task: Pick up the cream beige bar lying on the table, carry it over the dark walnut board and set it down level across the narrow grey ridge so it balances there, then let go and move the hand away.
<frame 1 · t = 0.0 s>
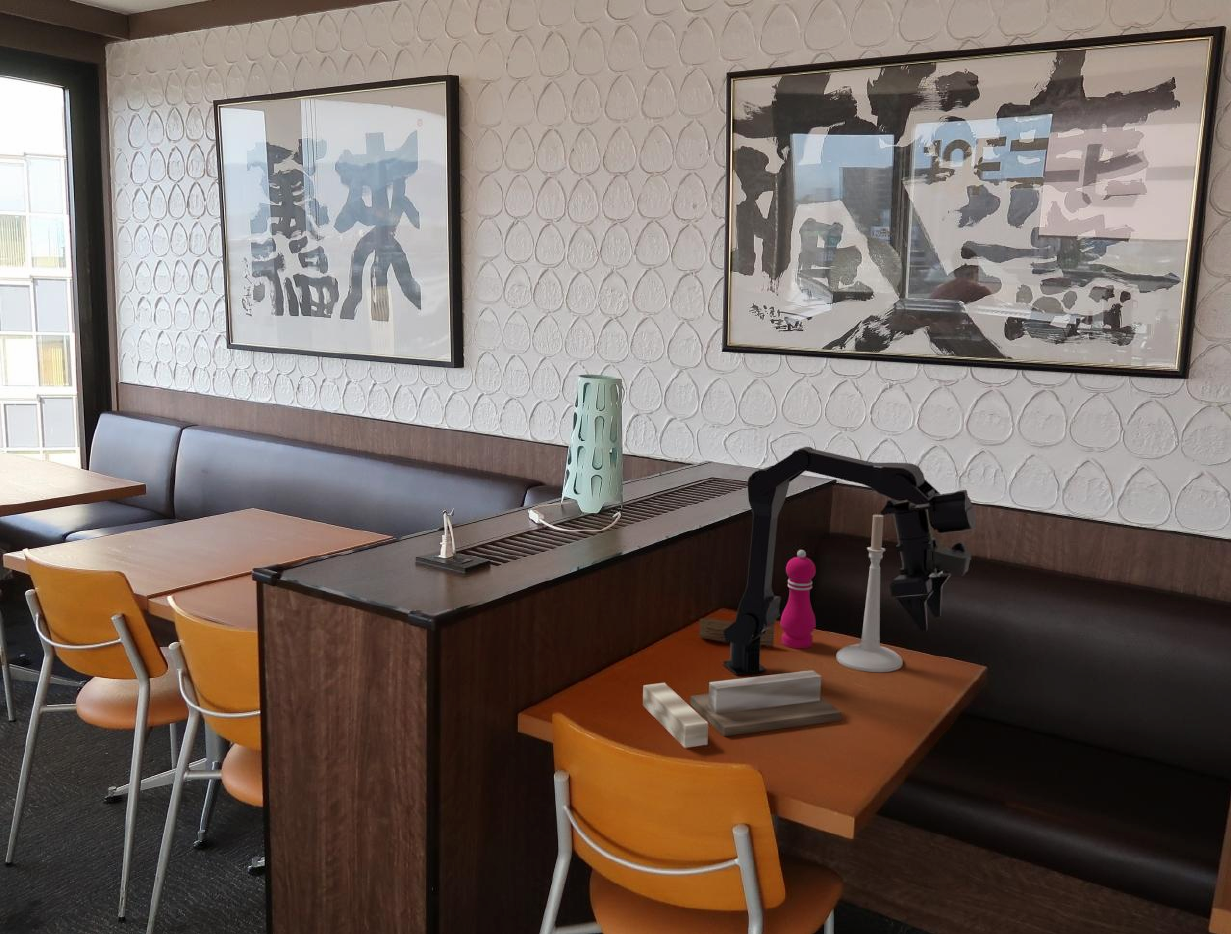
hand: (930, 623, 182), 15 cm above the table, tool pointing down, fingers open, 9 cm apart
pepper mill: (796, 644, 216), on the table
candlestick: (869, 661, 207), on the table
ridge stand: (764, 712, 181), on the table
wood plank: (736, 644, 216), on the table
cream beige bar: (673, 725, 175), on the table
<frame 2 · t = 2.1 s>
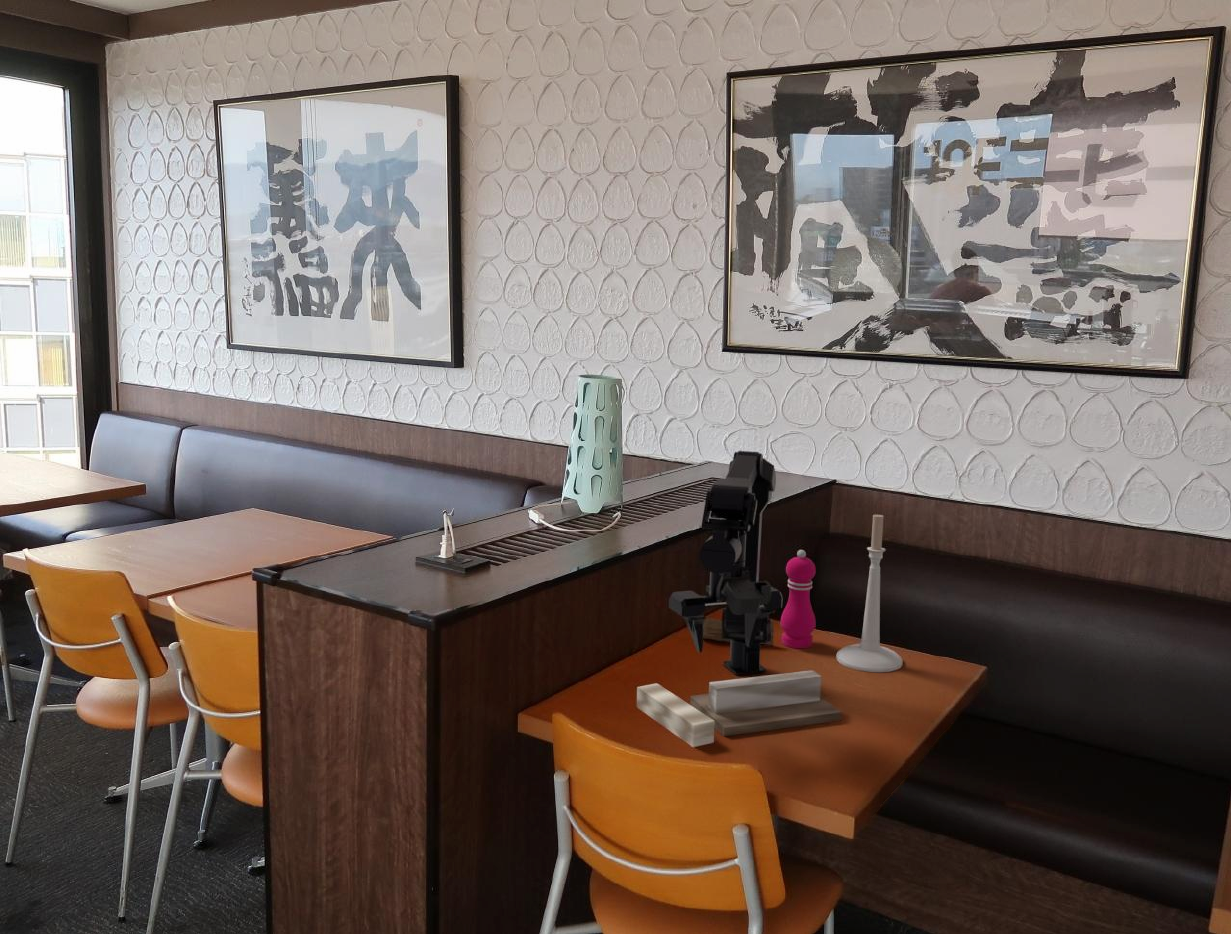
hand: (724, 649, 176), 12 cm above the table, tool pointing down, fingers open, 9 cm apart
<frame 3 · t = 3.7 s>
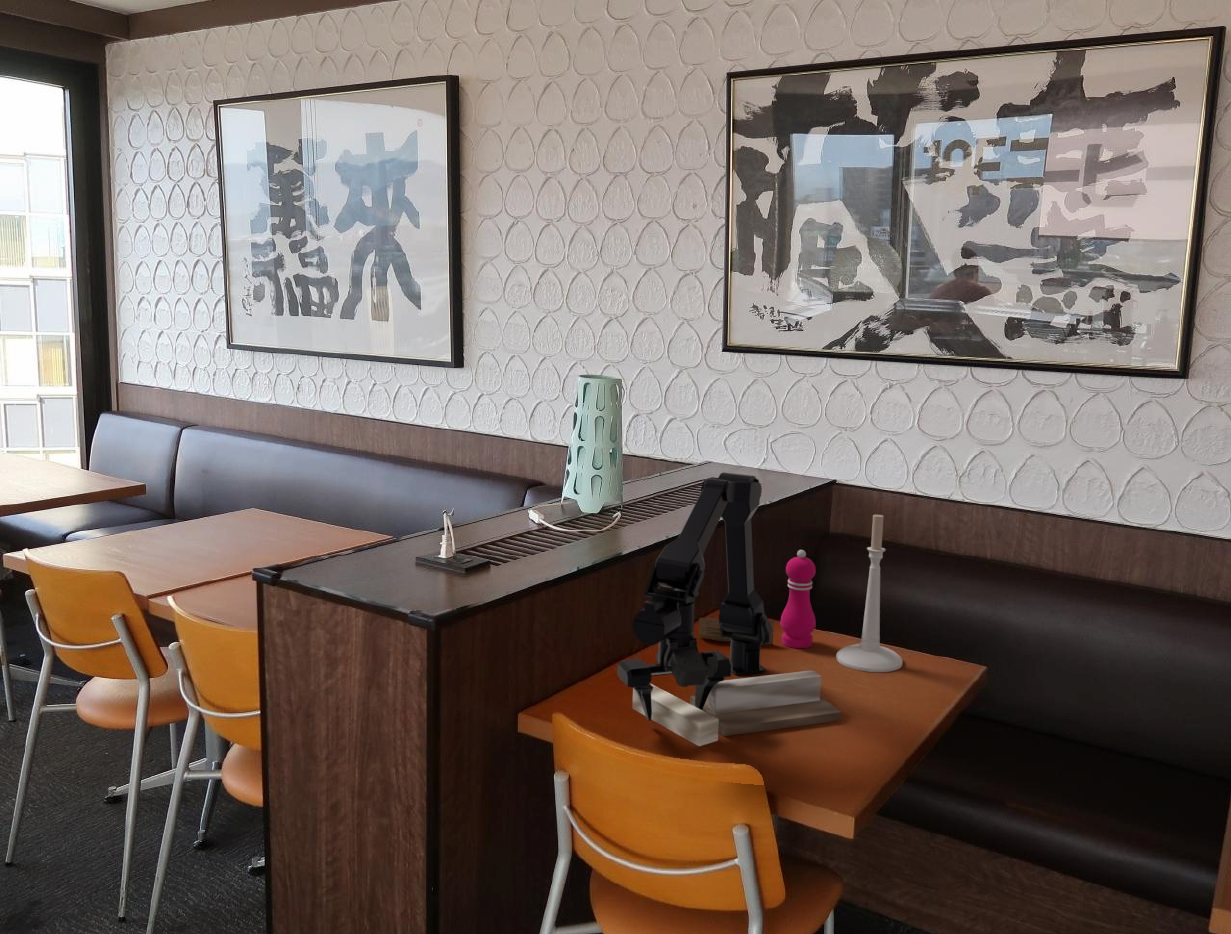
hand: (673, 716, 175), 1 cm above the table, tool pointing down, fingers open, 9 cm apart
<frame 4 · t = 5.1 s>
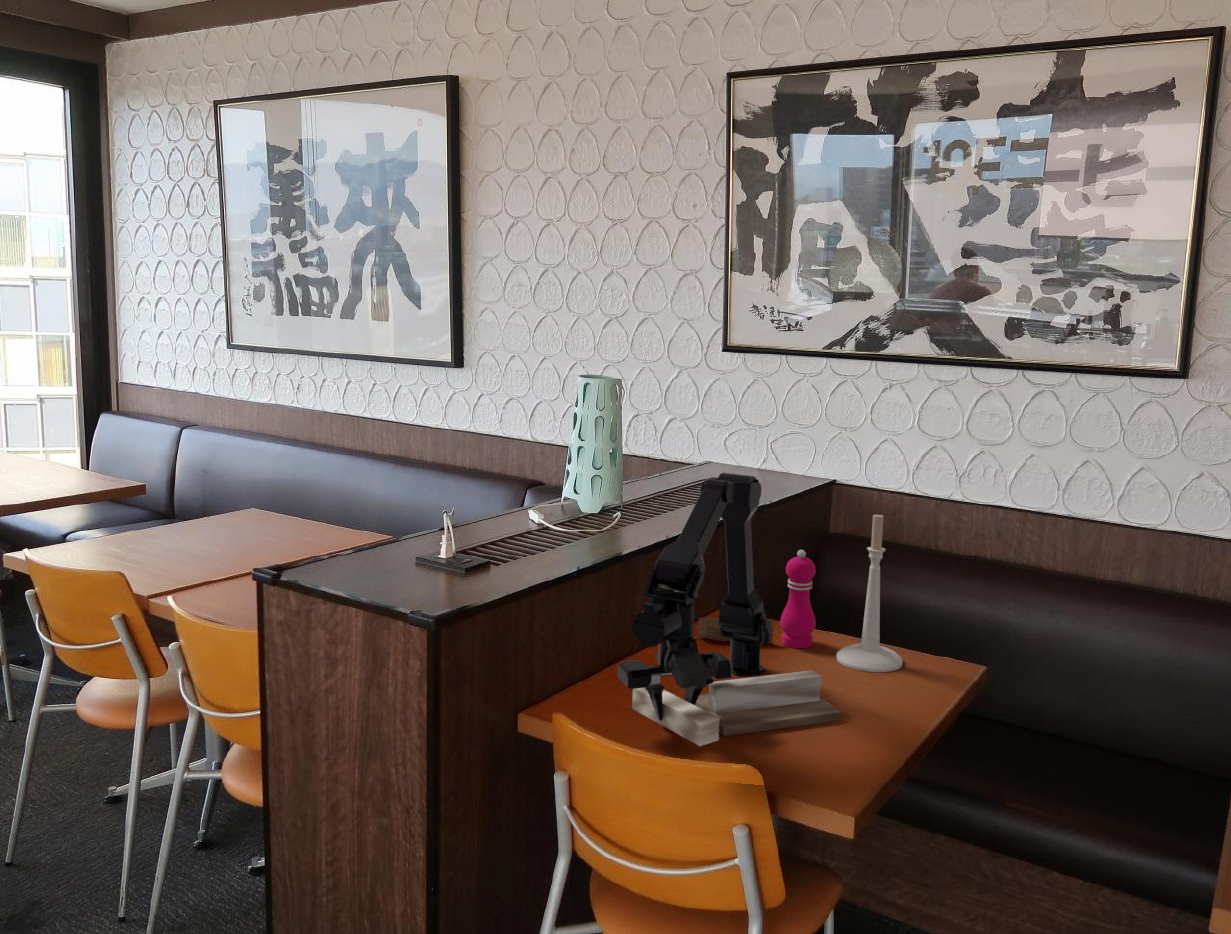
hand: (673, 718, 175), 1 cm above the table, tool pointing down, fingers closed on cream beige bar, 5 cm apart
cream beige bar: (673, 724, 175), on the table, touching gripper
everything else where it was.
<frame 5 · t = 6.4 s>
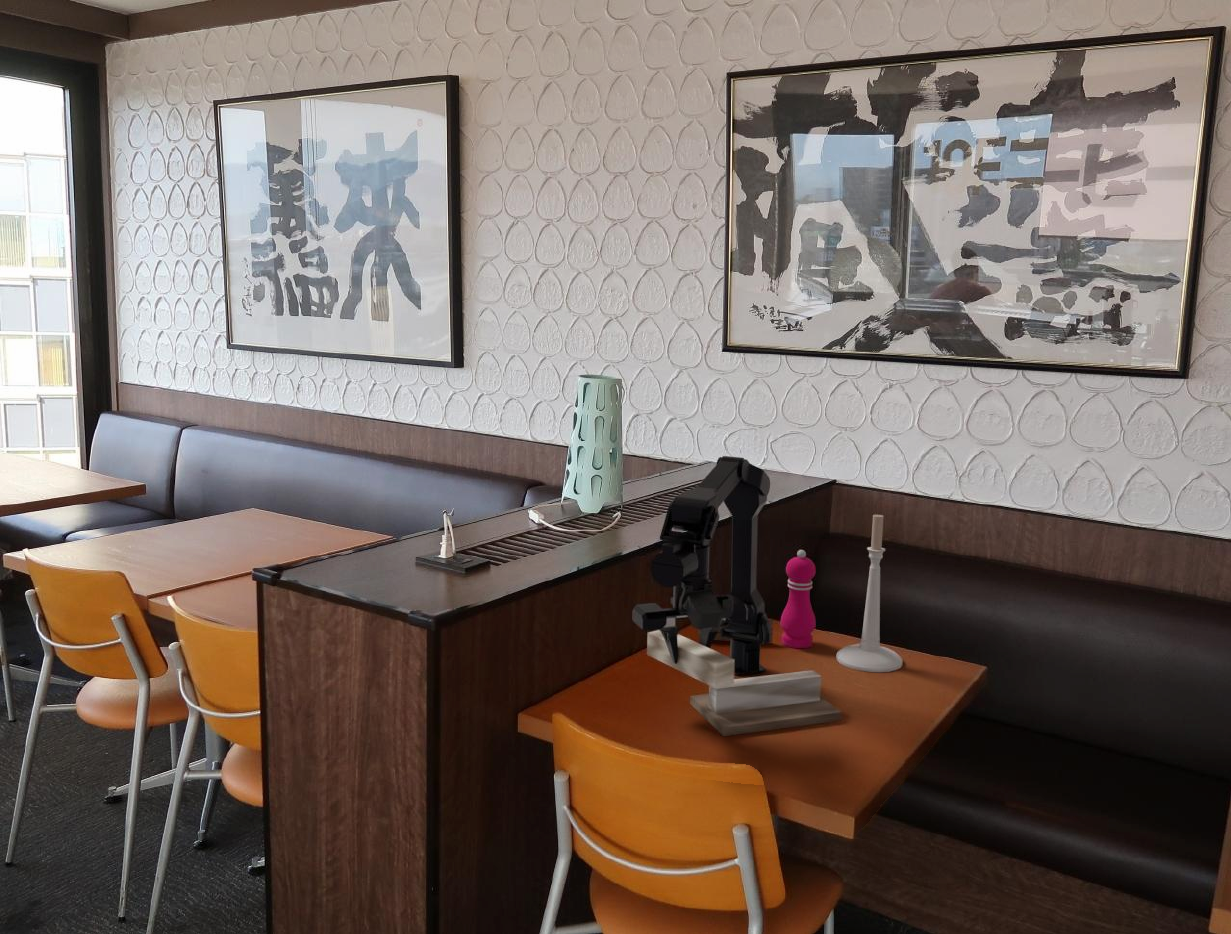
hand: (689, 661, 175), 11 cm above the table, tool pointing down, fingers closed on cream beige bar, 5 cm apart
cream beige bar: (688, 668, 175), point 9 cm above the table, touching gripper
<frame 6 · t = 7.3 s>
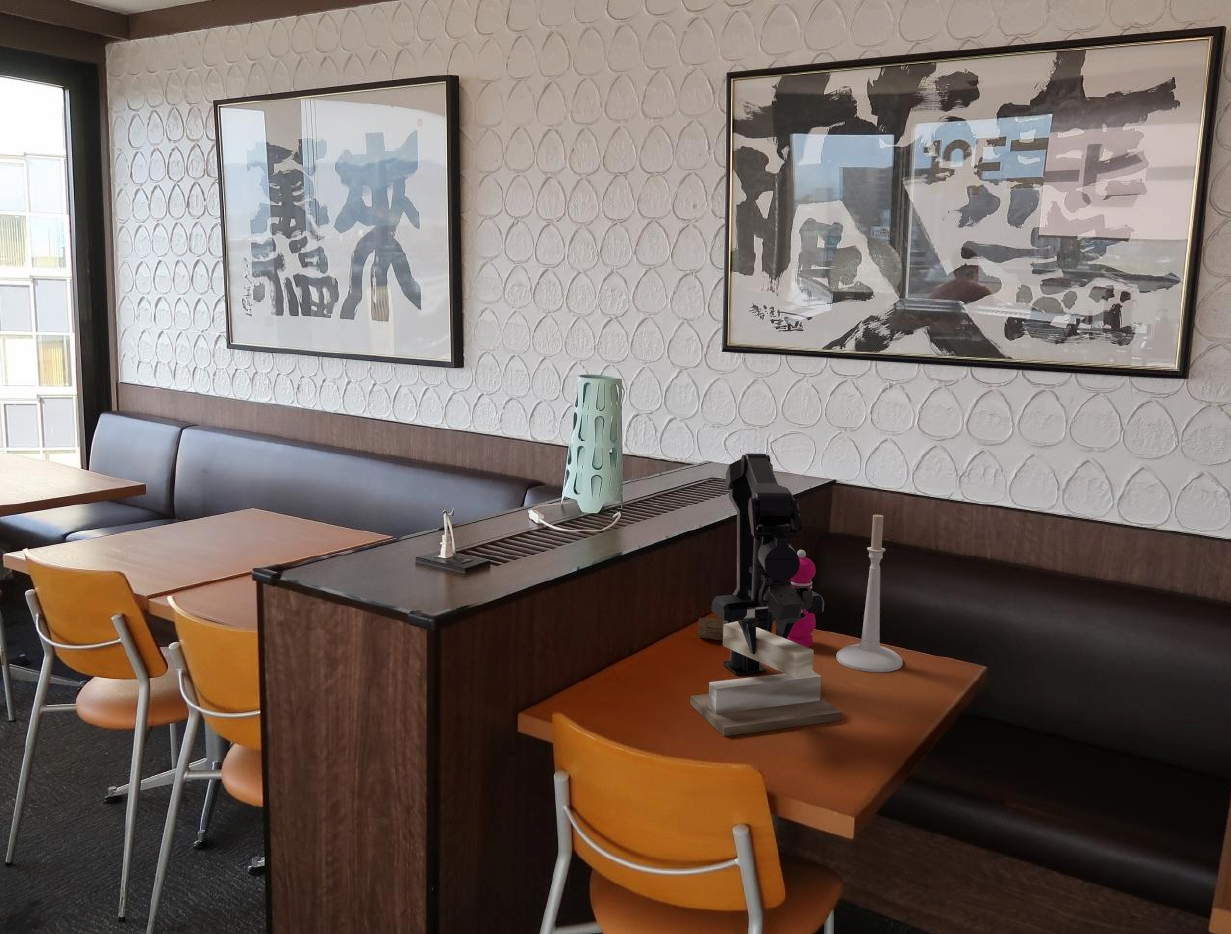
hand: (765, 652, 179), 11 cm above the table, tool pointing down, fingers closed on cream beige bar, 5 cm apart
cream beige bar: (766, 659, 179), point 10 cm above the table, touching gripper
when the fingers open (8 cm above the table, at t = 8.7 s): cream beige bar stays where it is, resting on ridge stand.
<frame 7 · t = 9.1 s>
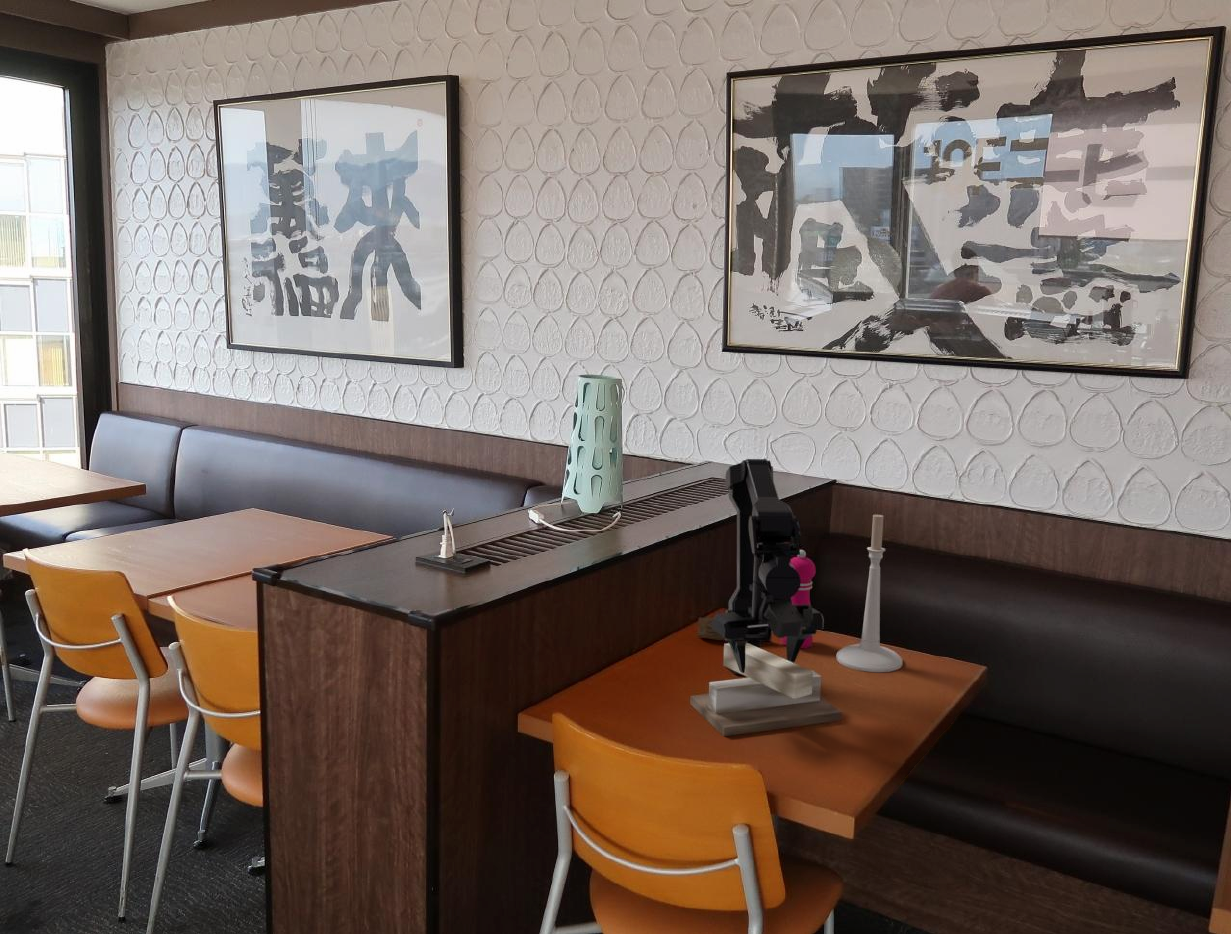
hand: (766, 669, 180), 8 cm above the table, tool pointing down, fingers open, 9 cm apart
cream beige bar: (766, 679, 180), point 6 cm above the table, touching ridge stand
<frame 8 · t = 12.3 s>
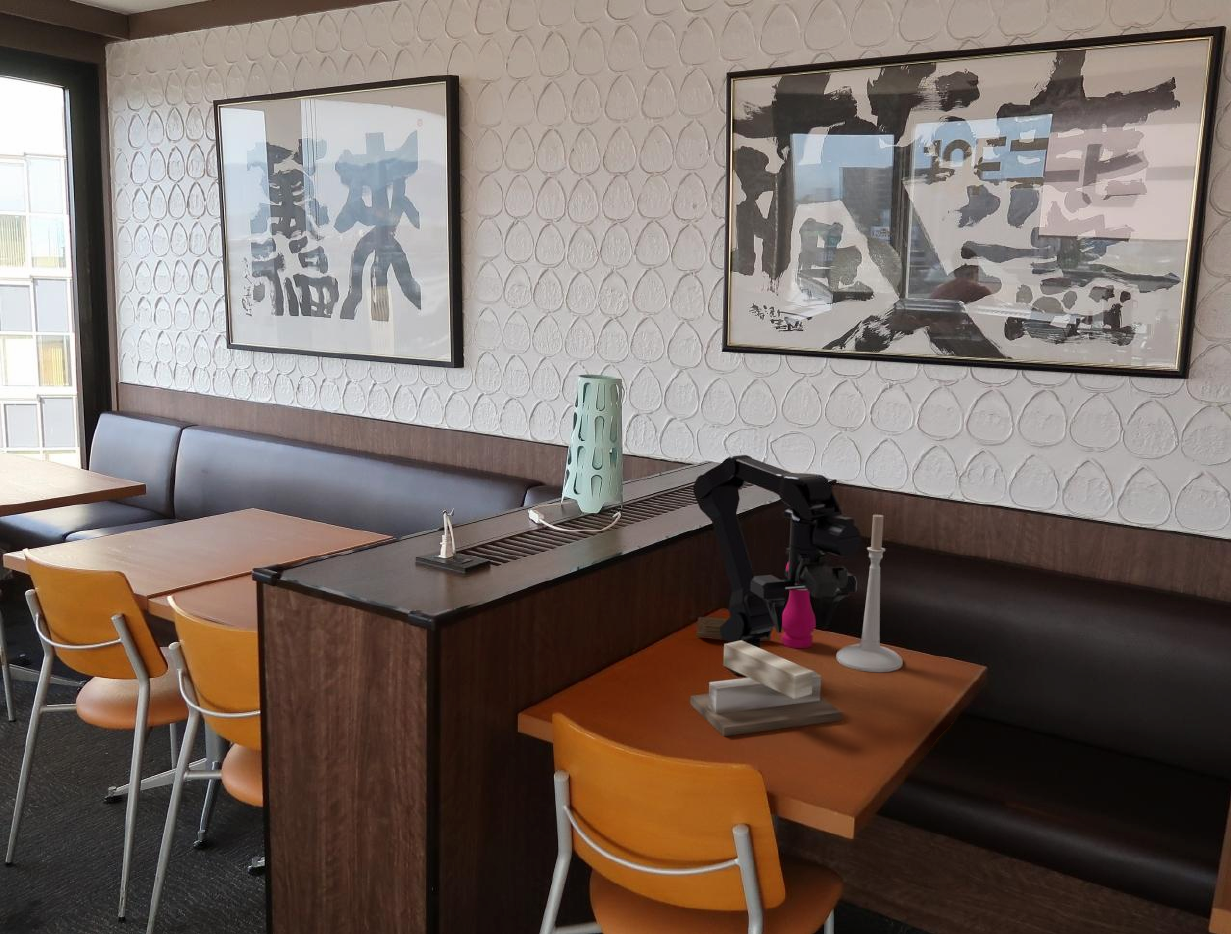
hand: (801, 629, 188), 12 cm above the table, tool pointing down, fingers open, 9 cm apart
at the end: cream beige bar 0.0 cm off-centre on the ridge stand, point 6.0 cm above the ridge stand's base; cream beige bar tilted 0°; cream beige bar touching ridge stand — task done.
